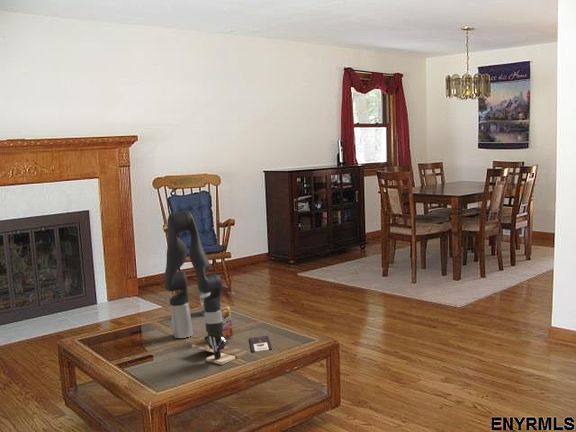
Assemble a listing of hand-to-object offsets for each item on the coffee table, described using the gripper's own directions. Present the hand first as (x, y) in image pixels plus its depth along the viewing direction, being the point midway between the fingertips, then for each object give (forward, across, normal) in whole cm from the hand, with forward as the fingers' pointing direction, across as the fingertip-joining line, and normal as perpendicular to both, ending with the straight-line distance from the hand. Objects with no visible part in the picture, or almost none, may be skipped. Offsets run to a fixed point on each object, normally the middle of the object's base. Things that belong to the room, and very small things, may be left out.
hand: (217, 358), depth 258 cm
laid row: (+1, -6, +10) cm, 11 cm away
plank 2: (+1, 0, +2) cm, 2 cm away
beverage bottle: (0, -59, +46) cm, 75 cm away
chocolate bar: (+2, +2, +24) cm, 25 cm away
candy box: (+1, -20, +21) cm, 29 cm away
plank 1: (-1, -11, +2) cm, 11 cm away
